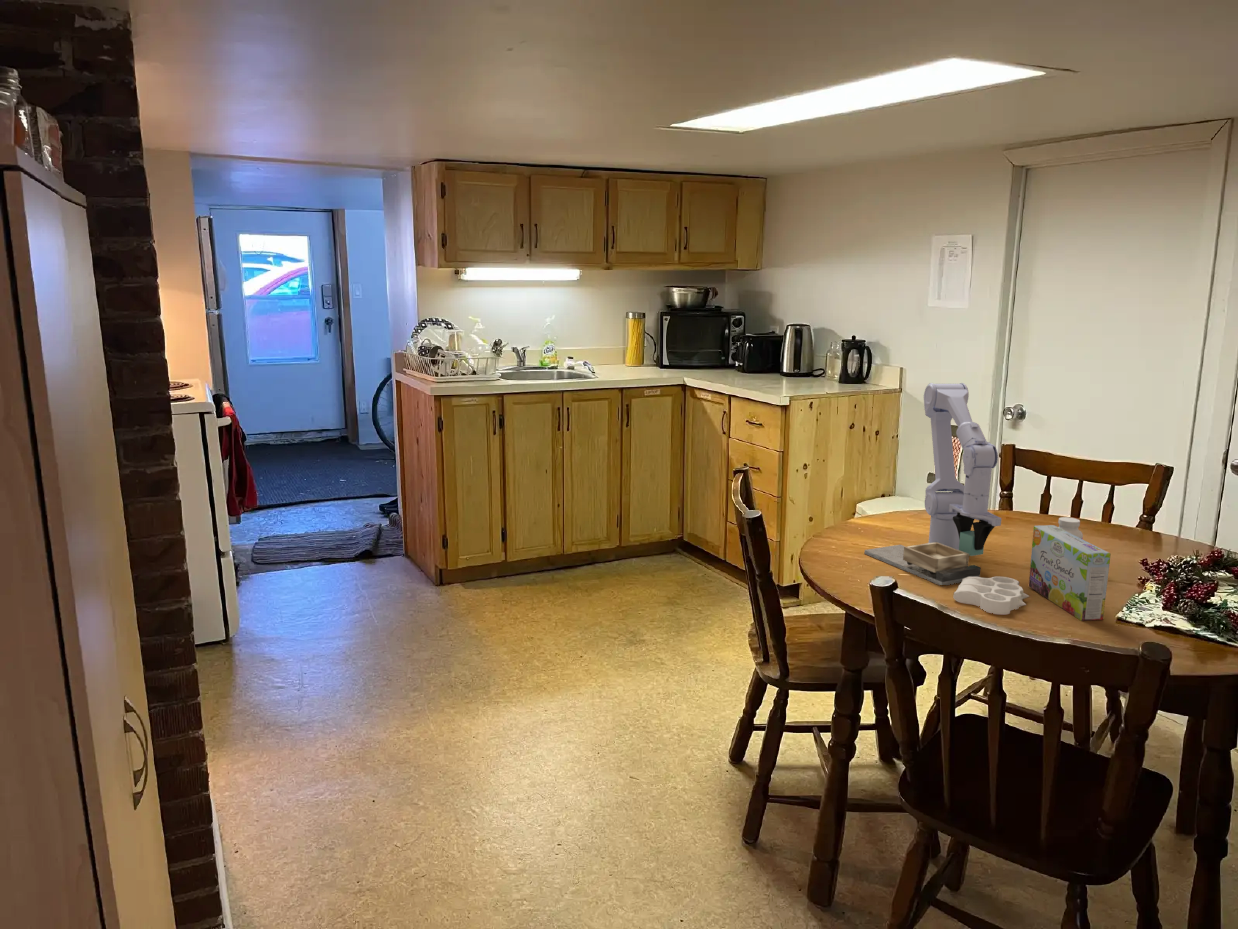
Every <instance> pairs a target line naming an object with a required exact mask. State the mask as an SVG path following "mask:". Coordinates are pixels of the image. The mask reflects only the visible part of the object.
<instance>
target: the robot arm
mask: <svg viewBox="0 0 1238 929" xmlns="http://www.w3.org/2000/svg"><path fill="white" fill-rule="evenodd" d="M969 396H970V394H969V389H968V387H967V384H965V383H964V382H961V383H934V382H929V383H928V384H927V386H926V387H925V389H924V392H923V404H924V406H923V407H924V414H925V416H926V417H927V418H929V419H930V426H931V440H932V454H933V462H934V476H935V477H934V478H935V480H933V481H932V482H930V484H928V485H927V487H926V488H925V496H924V497H925V498H924V509H925V511H926V513H927V514H928V515H929V516H930V523H929V534H928V535H929V536H928V542H927V543H934V542H938V543H941V544H943V545H946V546H949V547H952V548H954V549H957V550H959V541H960V532H965V531H971V530H972V528H973V531H974V535H975V539H974V548H975V550H982V549H983V547H984V546H985V544H986V541H987V539H988V537H989V535H990V534H991V532H992V531H993V530H994V528H995V527H1000V526H1002V517H999V516H997V515H996V514H994V513H992V512H990V511H988V510H989V509H988V508H989V502H990V501H989V498H990V491H991V489H990V488H991V479H992V471H993V469H994V468H996V466H997V464H998V461H999V453H998V449H997V447H996V445H995V444H993V443H991V442H990V441H987V439H986V437H985V435H984V433H983V431H982V429H981V426H980V425H979V423H977V422H974V421H973V420H972V416H971V414H970V410H969V408H968V407H969V406H968V402H969ZM952 420H953V421H954V423H955V424H956V426H957V429H956V431H955V433H956V437H957V439H958V442H959V443H960V446H961V448H962V450H963V454H962V462H963V474H964V475H965V478H964V484H963V483H962V482H960V481H959V480H958V479H957V478H956V470H955V468H956V467H955V458H954V447H953V445H954V444H953V436H952V435H953V433H952V422H951V421H952ZM975 520H976V521H975ZM974 521H975V522H974ZM927 543H925V544H927ZM984 548H985V547H984Z"/></svg>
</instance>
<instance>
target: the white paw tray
mask: <svg viewBox="0 0 1238 929" xmlns="http://www.w3.org/2000/svg"><path fill="white" fill-rule="evenodd" d="M952 597H953V600H955V601H956V602H958V603H960V604H967V605H974V606H977V607H979V606H980V607H979V609H980V610H982V609H983V610H984V611H983V610H982V611H983V612H985V611H986V613H990V614H992V613H993V615H1002V616H1003V615H1009V614H1011V611H1013V610H1014V609H1015V610H1019V607H1020V608H1021V607H1023V606H1027V603H1025V602H1024V601H1023V600H1024V599H1026V598H1029V597H1030V595H1028V594H1027V593H1025V592H1024V588H1023V587H1022V586H1020V581H1019V580H1017V579H1016V578H1015V579H1014V578H1012V577H1008V576H999V575H998V576H992V577H981V576H980V577H967V578H964V579H962V582H961V583H959V584H958V586H957V588H956V591H954V592H953V596H952ZM1030 598H1031V597H1030Z"/></svg>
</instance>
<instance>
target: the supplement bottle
mask: <svg viewBox="0 0 1238 929" xmlns="http://www.w3.org/2000/svg"><path fill="white" fill-rule="evenodd" d="M1057 523H1058V526H1057V527H1058V528H1060V529H1062V530H1064V531H1067V532H1068V533H1070V534H1072V535H1074V536H1076V537H1078V538H1080V539H1082V540H1084V538H1083V537H1084V534H1083V532H1082V531H1081V530H1079V527H1080V525H1081V520H1080V519H1078V518H1075V517H1069V516H1067V517H1066V516H1064V517H1061V516H1060V517H1059V518H1058V522H1057Z"/></svg>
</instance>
